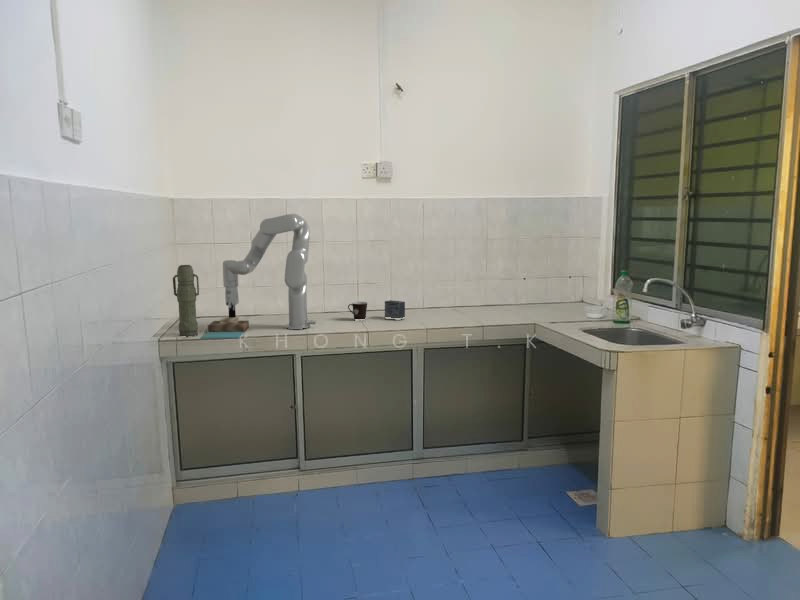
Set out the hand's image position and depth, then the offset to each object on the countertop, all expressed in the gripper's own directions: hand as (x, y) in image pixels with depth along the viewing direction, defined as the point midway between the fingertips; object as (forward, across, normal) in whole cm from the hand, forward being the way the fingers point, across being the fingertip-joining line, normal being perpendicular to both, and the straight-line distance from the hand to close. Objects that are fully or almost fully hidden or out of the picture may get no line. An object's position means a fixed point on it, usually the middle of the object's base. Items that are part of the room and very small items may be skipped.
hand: (232, 317), depth 302 cm
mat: (+5, -21, 0) cm, 22 cm away
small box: (+5, +20, -88) cm, 90 cm away
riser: (+5, -8, 0) cm, 10 cm away
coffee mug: (+5, +19, -67) cm, 70 cm away
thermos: (+5, -19, +17) cm, 26 cm away
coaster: (+1, -7, 0) cm, 7 cm away
